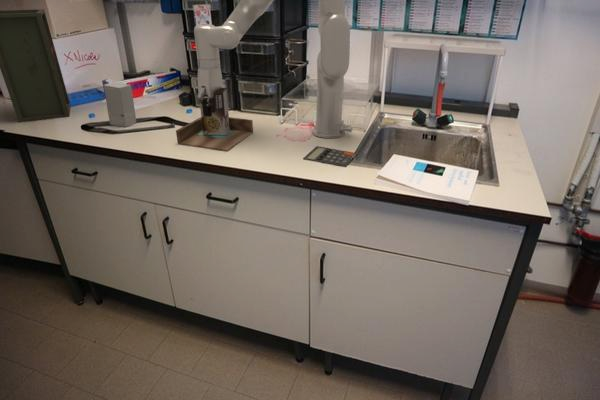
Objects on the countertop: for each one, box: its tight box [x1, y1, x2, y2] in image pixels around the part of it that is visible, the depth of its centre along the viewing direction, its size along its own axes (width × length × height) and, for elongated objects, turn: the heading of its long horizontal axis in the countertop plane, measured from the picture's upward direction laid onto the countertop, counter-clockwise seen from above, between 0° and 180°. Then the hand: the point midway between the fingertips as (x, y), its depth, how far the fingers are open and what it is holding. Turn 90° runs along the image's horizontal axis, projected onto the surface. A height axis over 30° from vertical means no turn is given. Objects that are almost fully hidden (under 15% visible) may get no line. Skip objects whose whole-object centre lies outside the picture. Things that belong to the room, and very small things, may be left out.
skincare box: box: [103, 81, 137, 128], centre depth 162 cm, size 8×7×16 cm
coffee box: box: [199, 87, 230, 135], centre depth 150 cm, size 9×6×16 cm
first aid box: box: [0, 8, 71, 123], centre depth 167 cm, size 18×18×40 cm
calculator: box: [302, 145, 356, 168], centre depth 137 cm, size 12×1×15 cm
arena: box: [175, 116, 254, 152], centre depth 150 cm, size 20×20×5 cm
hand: (214, 112), depth 150 cm, fingers open, 8 cm apart
